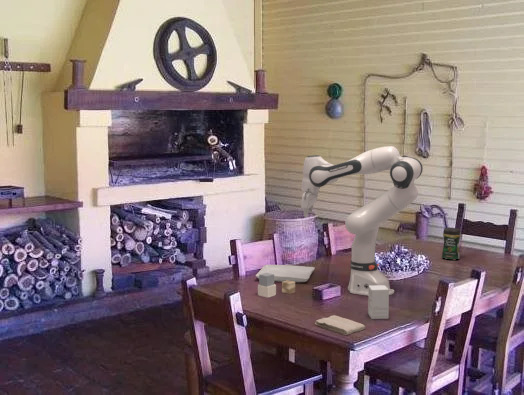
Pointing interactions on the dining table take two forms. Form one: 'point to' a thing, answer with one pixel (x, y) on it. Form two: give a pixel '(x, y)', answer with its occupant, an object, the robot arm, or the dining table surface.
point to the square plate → (287, 272)
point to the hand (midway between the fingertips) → (307, 214)
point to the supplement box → (378, 302)
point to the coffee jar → (451, 243)
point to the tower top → (266, 279)
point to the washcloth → (340, 325)
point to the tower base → (267, 291)
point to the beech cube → (288, 287)
